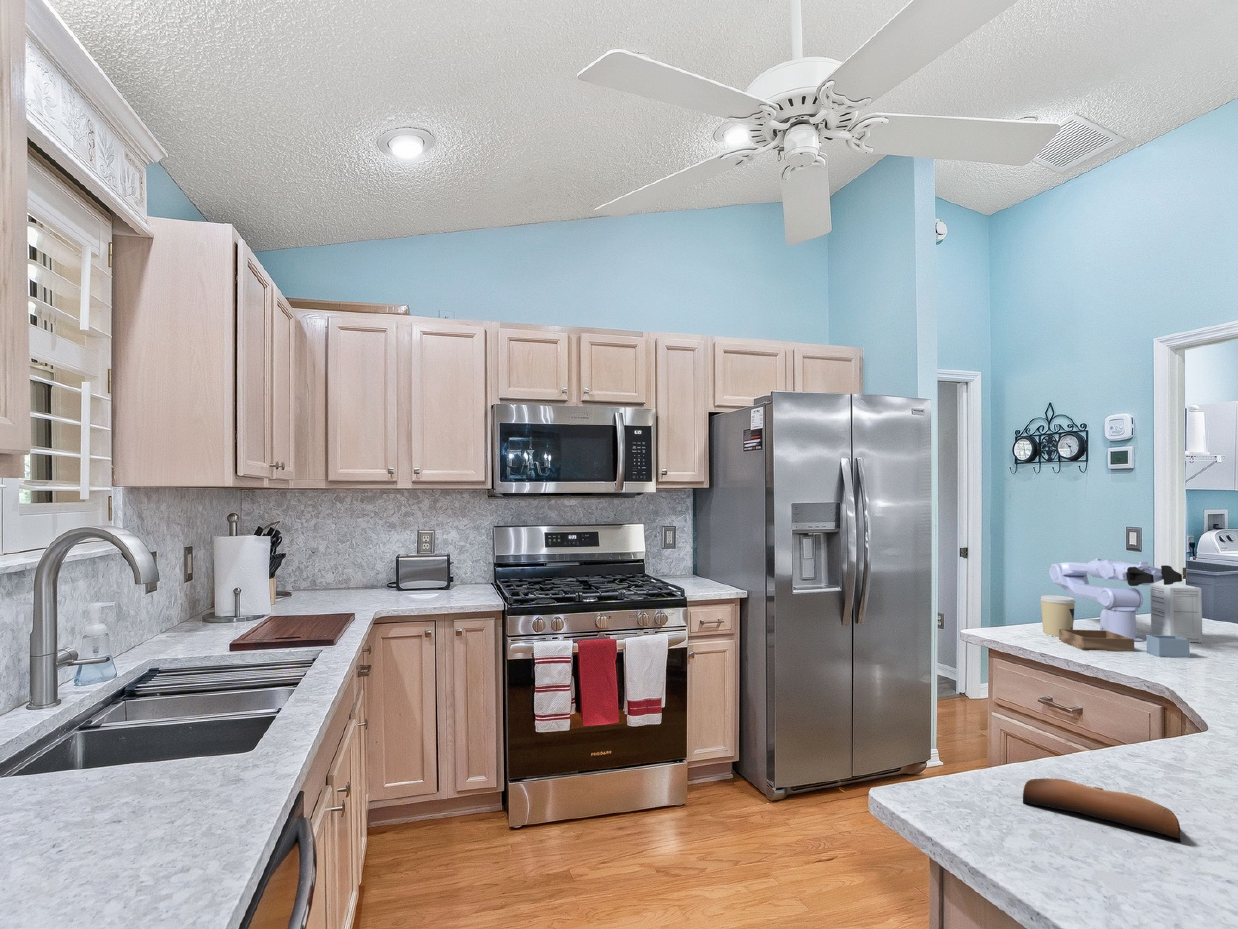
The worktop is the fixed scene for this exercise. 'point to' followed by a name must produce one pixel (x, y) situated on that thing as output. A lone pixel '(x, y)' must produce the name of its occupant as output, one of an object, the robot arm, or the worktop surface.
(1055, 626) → the coffee cup
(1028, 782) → the sunglasses case
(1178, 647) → the slate crate
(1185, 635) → the supplement box
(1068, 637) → the walnut crate
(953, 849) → the worktop surface
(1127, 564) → the robot arm
